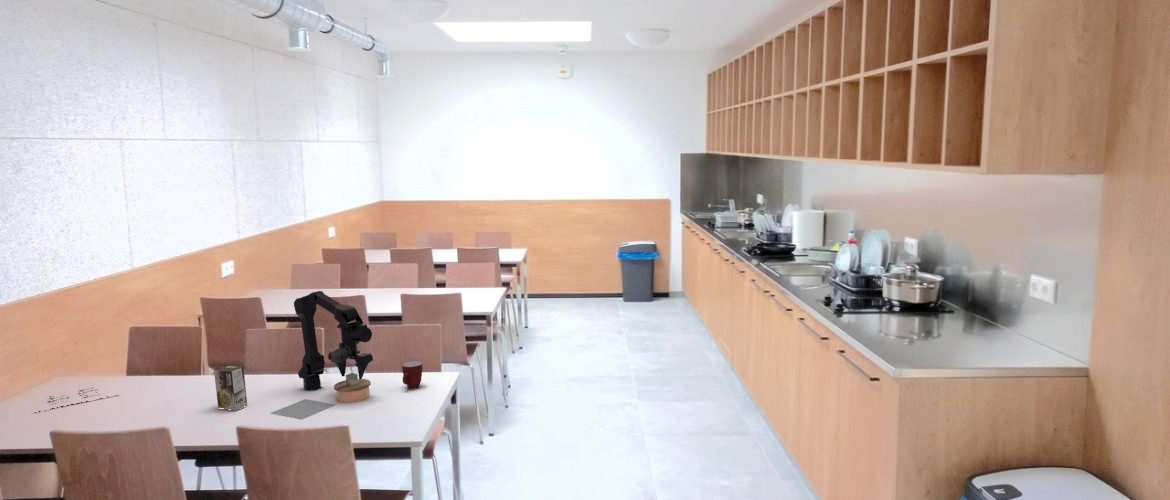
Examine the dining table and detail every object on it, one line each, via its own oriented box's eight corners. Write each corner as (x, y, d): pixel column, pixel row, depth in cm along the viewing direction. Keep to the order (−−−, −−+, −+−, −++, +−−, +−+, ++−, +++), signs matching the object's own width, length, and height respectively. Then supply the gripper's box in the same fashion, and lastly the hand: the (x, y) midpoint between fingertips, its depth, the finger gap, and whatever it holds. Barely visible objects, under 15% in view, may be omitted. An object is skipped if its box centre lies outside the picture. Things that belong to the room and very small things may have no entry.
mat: (269, 415, 281) (269, 413, 281) (305, 401, 296) (305, 399, 296) (302, 422, 273) (301, 419, 273) (336, 407, 288) (336, 404, 288)
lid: (326, 389, 293) (325, 377, 293) (352, 379, 306) (351, 367, 305) (352, 393, 287) (351, 381, 286) (378, 382, 299) (377, 371, 298)
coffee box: (248, 406, 293) (244, 366, 291) (235, 411, 287) (231, 371, 285) (230, 404, 296) (226, 364, 294) (217, 409, 290) (213, 369, 288)
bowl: (331, 402, 294) (330, 388, 294) (353, 392, 305) (352, 379, 304) (353, 406, 289) (352, 392, 288) (375, 396, 299) (374, 383, 299)
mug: (415, 392, 303) (413, 369, 301) (397, 391, 304) (395, 368, 303) (426, 384, 313) (425, 361, 311) (409, 383, 315) (407, 361, 313)
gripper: (316, 342, 291) (319, 380, 293) (351, 346, 282) (354, 386, 284) (337, 335, 301) (340, 372, 303) (372, 339, 292) (375, 378, 294)
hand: (351, 377), depth 296 cm, fingers open, 9 cm apart
